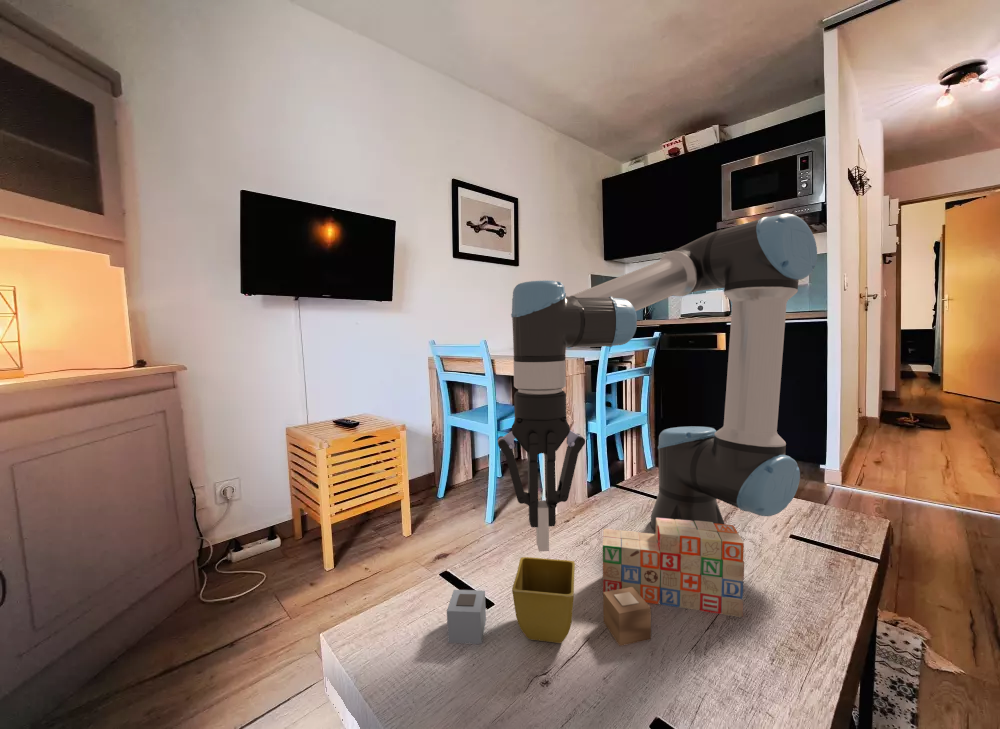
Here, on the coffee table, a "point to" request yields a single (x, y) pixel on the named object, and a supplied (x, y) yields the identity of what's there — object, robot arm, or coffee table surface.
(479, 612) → the grey cube marked
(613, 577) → the stack of blocks
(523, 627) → the flower pot
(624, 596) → the walnut cube marked
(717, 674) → the coffee table surface
